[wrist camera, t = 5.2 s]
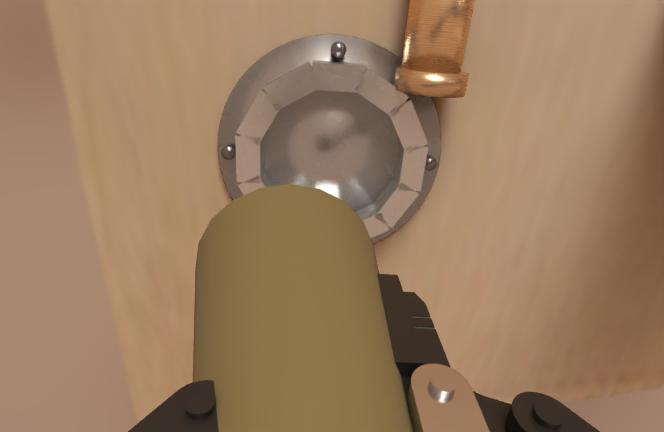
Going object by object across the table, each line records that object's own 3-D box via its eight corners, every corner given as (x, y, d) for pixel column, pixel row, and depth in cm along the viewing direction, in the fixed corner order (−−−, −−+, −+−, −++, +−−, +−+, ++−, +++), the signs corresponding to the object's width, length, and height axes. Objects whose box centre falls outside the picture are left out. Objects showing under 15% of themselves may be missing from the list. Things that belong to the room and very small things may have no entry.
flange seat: (458, 43, 25) (472, 45, 23) (419, 252, 31) (427, 269, 29) (213, 25, 24) (203, 24, 22) (224, 244, 30) (217, 261, 28)
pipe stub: (407, -69, 22) (426, -89, 19) (480, -62, 23) (513, -80, 19) (387, 84, 26) (400, 94, 22) (451, 88, 26) (475, 99, 22)
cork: (301, 358, 16) (364, 917, 6) (159, 285, 13) (-126, 1015, 4) (408, 248, 14) (728, 750, 4) (269, 145, 12) (303, 729, 2)
